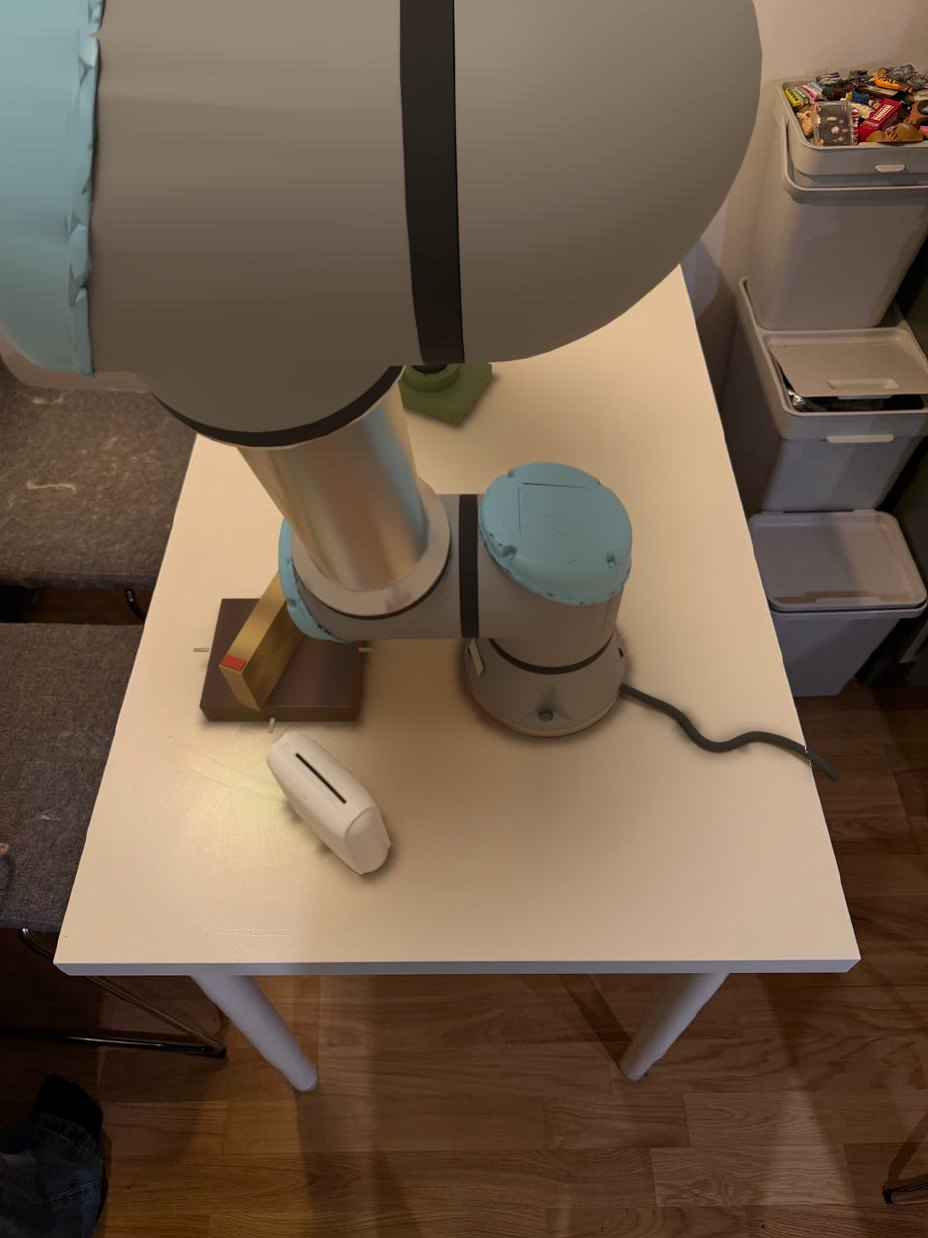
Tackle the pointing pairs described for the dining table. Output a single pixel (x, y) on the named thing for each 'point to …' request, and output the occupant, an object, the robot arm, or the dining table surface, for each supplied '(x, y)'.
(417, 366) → the button
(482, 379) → the button block
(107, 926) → the dining table surface
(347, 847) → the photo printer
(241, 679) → the golden wooden board
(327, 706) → the panel
